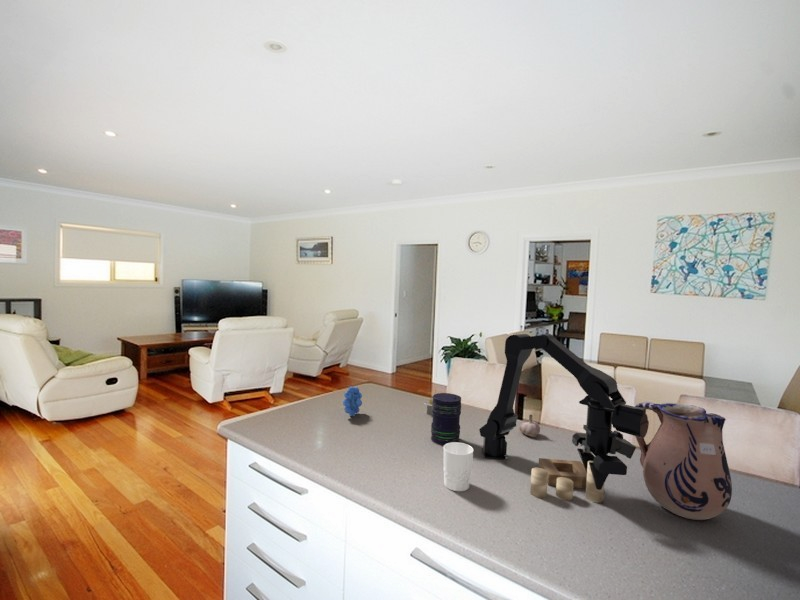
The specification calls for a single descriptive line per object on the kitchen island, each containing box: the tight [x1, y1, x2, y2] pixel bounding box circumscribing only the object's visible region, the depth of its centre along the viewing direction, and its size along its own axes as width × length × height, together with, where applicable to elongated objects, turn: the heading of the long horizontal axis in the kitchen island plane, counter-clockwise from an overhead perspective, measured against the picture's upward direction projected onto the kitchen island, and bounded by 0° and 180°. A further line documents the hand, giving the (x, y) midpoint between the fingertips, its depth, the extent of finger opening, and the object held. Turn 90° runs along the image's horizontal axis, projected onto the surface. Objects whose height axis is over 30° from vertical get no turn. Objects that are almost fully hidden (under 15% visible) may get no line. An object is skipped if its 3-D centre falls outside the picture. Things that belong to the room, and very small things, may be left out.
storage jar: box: [430, 392, 462, 447], centre depth 133 cm, size 10×10×15 cm
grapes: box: [342, 386, 363, 417], centre depth 153 cm, size 12×7×12 cm, turn 153°
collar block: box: [537, 457, 587, 489], centre depth 110 cm, size 12×10×3 cm
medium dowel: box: [529, 467, 548, 499], centre depth 101 cm, size 4×4×6 cm
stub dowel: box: [555, 477, 574, 501], centre depth 101 cm, size 4×4×4 cm
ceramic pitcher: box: [634, 401, 733, 521], centre depth 97 cm, size 18×21×25 cm
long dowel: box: [585, 461, 605, 504], centre depth 100 cm, size 4×4×9 cm
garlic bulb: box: [518, 413, 541, 438], centre depth 142 cm, size 8×7×8 cm
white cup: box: [442, 441, 475, 492], centre depth 104 cm, size 8×8×10 cm
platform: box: [424, 398, 433, 417], centre depth 158 cm, size 12×18×7 cm, turn 56°
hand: (595, 484), depth 100 cm, fingers closed on long dowel, 4 cm apart
